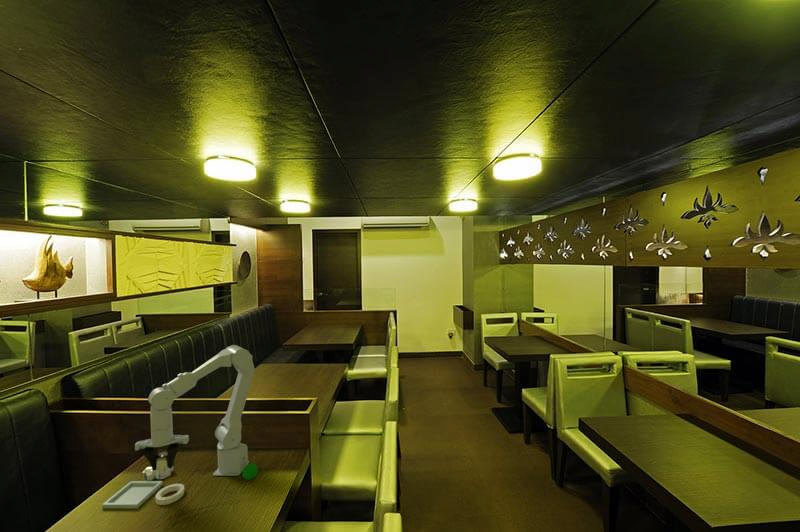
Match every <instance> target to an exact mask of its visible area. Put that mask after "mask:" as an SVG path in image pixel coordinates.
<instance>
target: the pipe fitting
mask: <svg viewBox="0 0 800 532" xmlns="http://www.w3.org/2000/svg"><path fill="white" fill-rule="evenodd" d="M173 471H174V466H173V467H172V468H171V472H173ZM141 475H143V480H144V481H155V480H156V479H157V478H156V470H155V471H153V470H152V467H151V465H150V466H147V467H146V468H145V469H144V470H143V471H142V472H141Z"/></svg>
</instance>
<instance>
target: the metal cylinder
mask: <svg viewBox="0 0 800 532" xmlns="http://www.w3.org/2000/svg"><path fill="white" fill-rule="evenodd" d="M155 459H156V479H157V480H162V479H163V480H164V479H165V478H168V477H170V476H171V474H172V471H171V468H169V458H168V453H167V451H164V452H160V453H158V455H157V456H156V457H155Z"/></svg>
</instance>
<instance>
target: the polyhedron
mask: <svg viewBox="0 0 800 532" xmlns="http://www.w3.org/2000/svg"><path fill="white" fill-rule="evenodd" d="M258 472H259V468H258V465H257V464H255V463H252V462H251V463H250V462H249V463H248V465H247V466H245V467H244V469H243V471H242V472H241V474H242V478H244V479H245V480H253V479H254V478H255V477H256V476H257V475H258Z"/></svg>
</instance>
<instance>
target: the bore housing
mask: <svg viewBox="0 0 800 532" xmlns="http://www.w3.org/2000/svg"><path fill="white" fill-rule="evenodd" d="M171 492H175V493H173V494H172V495H169V496H165V495H166V494H168V493H171ZM184 495H185V485H184V484H183V483H173V484H169V485H167V486H165V487H163V488H160V489H159V490H158V491H157V493H155V503H156V505H159V506H166V505H170V504H172V503H174V502H176V501H178V500H180V499H181V498H182V497H183V496H184Z"/></svg>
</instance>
